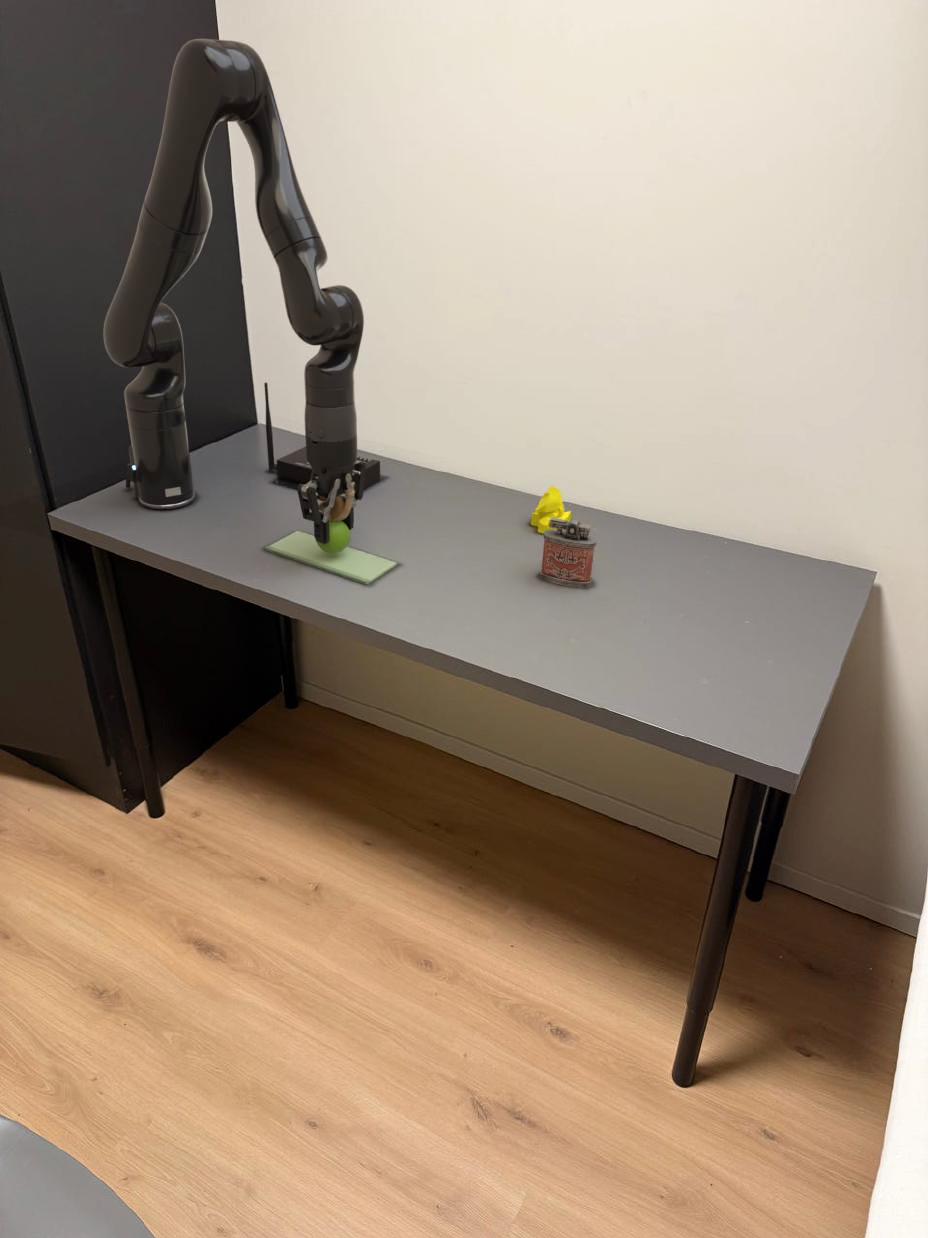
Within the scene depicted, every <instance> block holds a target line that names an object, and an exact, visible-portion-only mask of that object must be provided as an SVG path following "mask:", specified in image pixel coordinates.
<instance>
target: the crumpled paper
mask: <svg viewBox="0 0 928 1238" xmlns="http://www.w3.org/2000/svg"><path fill="white" fill-rule="evenodd" d="M551 518H558V519H563V520H566V521H569V522H570V521H572V520H571V519H572V511H571V510H570V511H566V508H565V505H564V503H563V496H562V491H561V490H560V489H558V488H557V487H555V486H554V485H551V486H550V487H549V488H548V489H547V490H546V491H545V493H544V494H543V495H542V497H541V498H540V500H539V503H538V505H537V507H536V508H535V509H534V512H532V513H531V519H530V525H531V526H533V527H537V533H539V534H543V535H544V532H545V531H546V530H550V529H552V530H557V529H556V528H551V527H549V523H550V519H551ZM562 531H565V530H562Z"/></svg>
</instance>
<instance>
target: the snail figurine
mask: <svg viewBox="0 0 928 1238" xmlns="http://www.w3.org/2000/svg"><path fill="white" fill-rule="evenodd" d="M354 485H355V483H354V482H352V483H351V484H350V487H353V489H354ZM345 495H346V500H345V504H344V501H343V499H342V497H341V496H340V495H338V496H337V497H336V498H335V503H334V506H333V507H332V508H331V509H330V513H329V518H328V521H329V537H330V541H329V542H328V543H327V544H323V543H320V542H317V541H316V543H317V545H318V546H319V547H320V548H321V549H322V550H323V551H325V552H328V553H338V552H341V551H342V550H344V549H345V548H346V547H348V545H349V543H350V541H351V530H349V529H348V527H347V525H346V524H345V523H344V522H342V521H341V520H343V519H345V518H346V517H347V516H348V515H349V513H350V510H351V507H352V502H353V497H354V491H353V490H352V489H348V490H347V491H346V492H345ZM320 499H321V500H325V501H327V499H328V498H325V497H322V496H320ZM319 511H320V513H322V511H323V506H321V505H320V509H319ZM315 540H316V539H315Z"/></svg>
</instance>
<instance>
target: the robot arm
mask: <svg viewBox="0 0 928 1238" xmlns="http://www.w3.org/2000/svg"><path fill="white" fill-rule="evenodd" d="M166 99H167V100H166V106H165V113H164V119H163V125H162V131H161V136H160V141H159V145H158V149H157V153H156V157H155V161H154V165H153V169H152V174H151V178H150V181H149V185H148V188H147V191H146V193H145V196H144V200H143V204H142V208H141V210H140V215H139V217H138V218H139V219H138V222H137V227H136V231H135V234H134V239H133V243H132V245H131V249H130V252H129V254H128V258H127V262H126V264H125V268H124V271H123V274H122V277H121V279H120V282H119V285H118V287H117V289H116V291H115V294H114V296H113V299H112V301H111V302H110V306H109V308H108V310H107V313H106V315H105V319H104V322H103V331H102V333H103V334H102V336H103V345H104V348H105V350H106V352H107V354H108V356H109V358H110V359H111V360H112V361H113V363H115V365H117V366H120V367H121V368H126V369H136V368H137V369H138V368H141V369H140V372H139V373H138V374H137V376H136V377H135V378H134V379H133V380H132V381H131V382H130V383H128V384H127V386H126V387H125V389H124V392H123V395H124V403H125V410H126V416H127V423H128V429H129V436H130V442H131V443H130V444H131V445H129V447H128V454H129V463H126V469H127V475H126V478H125V488H127V489H130V488H131V482H132V483H133V487H134V493H135V499H137V500H139V503H140V505H141V506H143V507H145V508H148V509H152V510H172V509H173V510H174V509H178V508H179V509H180V508H182V507H185V506H187V505H189V504H191V503H193V501H195V499H196V494H195V490H194V481H193V472H192V463H191V455H190V447H189V438H188V437H189V436H188V429H187V421H186V413H185V405H184V392H185V387H186V368H185V367H186V365H185V353H184V352H185V350H184V349H185V348H184V340H183V339H184V338H183V332H182V328H181V324H180V323H179V319H178V317H177V316H176V313H175V312H174V311H173V309H172V308H171V307H170V306H168V305H167V304H166V303H164V302H162V301H163V300H164V298H165V297H166V296H167V295H168V294H169V292H170V291H171V290H172V289H173V288H174V287H175V286H176V285H177V284H178V283H179V282H180V280H181V279H182V278H183V277H184V276H185V275H186V274H187V273H188V271H189V270H190V269H191V267H192V266H193V265H194V264H195V263H196V262H197V260H198V258H199V256H200V254H201V251H202V249H203V247H204V244H205V241H206V238H207V234H208V232H209V228H210V226H211V222H212V218H213V203H212V202H213V201H212V197H211V192H210V188H209V184H208V180H207V177H206V173H205V172H206V171H205V160H206V154H207V150H208V147H209V143H210V141H211V138H212V135H213V133H214V131H215V128H216V126H217V125H218V124H219V123H236V124H237V125H238V127H239V129H240V130H241V132H242V134H243V136H244V138H245V140H246V142H247V144H248V147H249V149H250V153H251V156H252V160H253V165H254V180H255V181H254V205H255V212H256V218H257V220H258V224H259V227H260V229H261V233H262V235H263V237H264V239H265V241H266V244H267V246H268V248H269V251H270V253H271V255H272V257H273V259H274V261H275V264H276V266H277V268H278V273H279V278H280V285H281V290H282V296H283V301H284V307H285V311H286V316H287V319H288V322H289V325H290V327H291V329H292V330H293V332H294V333H295V335H297V337H298V338H299V339H300V340H301V341H302V342H304V343H305V344H307V345H310V346H319V350H318V352H317V353H316V354H315V355H314V356H313V357H311V358H310V359H309V360H308V361H307V362H306V364H305V366H304V371H303V372H304V377H303V378H304V398H305V404H304V434H305V436H304V437H305V446H306V458H307V461H308V462H309V464H310V465H311V467H312V474H311V478H310V480H311V481H309V482H308V483H307V484H306V485H303V484H299V485H298V487H297V489H296V491H297V495H298V501H299V505H300V510H301V514H302V515H301V516H302V519H304V520H308V521H310V522H313V536H314V537H315V539H316V541H317V542H320V543H323V544H327V543H328V542H329V541H330V537H329V521H328V518H329V513H330V509H331V508H332V507H333V506H334V503H335V498H336V497H337V496H338V495H340V496H341V497H342V499H343V501H344V504H345V500H346V495H345V492H346V491H347V490H348V489H352V490H353V491H354V497H353V502H352V507H351V510H350V513H349V515H348V516H347V517H346V518H345V519H343V520H341V521H342V522H344V523H345V524H346V525H347V527H348V529H349V531H351V530H353V529H354V523H355V516H354V515H355V513H354V511H355V510H354V509H355V507H356V506H357V501H361V500H362V499H363V497H364V490H365V489H364V480H365V470H366V463H364V462H360V461H357V458H358V419H357V417H358V416H357V408H356V400H355V399H356V398H355V397H356V396H355V369H356V364H357V361H358V359H359V354H360V348H361V343H362V340H363V339H362V338H363V333H364V325H365V314H364V308H363V306H362V302H361V300H360V298H359V296H358V294H357V293H356V292H355V291H354V289H352V288H350V287H349V286H346V285H343V284H335V285H329V286H326V287H322V288H321V286H320V283H319V278H318V271H320V270H321V269H322V268H324V266H326V264H327V262H328V259H329V254H328V251H327V248H326V244H325V243H324V241H323V239H322V236H321V233H320V231H319V229H318V226H317V223H316V222H315V219H314V217H313V215H312V212H311V210H310V208H309V205H308V203H307V201H306V198H305V195H304V194H303V191H302V188H301V185H300V182H299V179H298V176H297V172H296V169H295V166H294V163H293V159H292V156H291V151H290V148H289V145H288V144H289V143H288V140H287V137H286V134H285V129H284V127H283V122H282V119H281V115H280V112H279V108H278V103H277V100H276V97H275V93H274V90H273V86H272V83H271V79H270V77H269V74H268V71H267V68H266V66H265V63H264V62H263V60H262V58H261V57H260V55H259V54H258V53H257V51H256V50H255V49H254V48H253V47H251V46H250V45H249V44H247V43H244V42H242V41H238V40H237V41H236V40H226V39H214V38H210V39H209V38H195V39H191V40H189V41H187V42H186V43H184V44H183V46H181V48H180V49H179V51H178V53H177V55H176V58H175V60H174V64H173V67H172V71H171V76H170V81H169V88H168V94H167V98H166ZM352 482H354V483H355V484H357V491H355V490H354V489H353V487H350V484H351V483H352ZM363 489H364V490H363ZM320 496H322V497H325V498H328V499H327V501H325V500H321V499H320ZM320 505H321V506H323V511H322V513H320V512H321V511H320V510H319V509H320Z"/></svg>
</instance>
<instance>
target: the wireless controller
mask: <svg viewBox="0 0 928 1238" xmlns="http://www.w3.org/2000/svg"><path fill="white" fill-rule="evenodd" d="M263 385H264V399H265V435H266V448H267V449H266V450H267V451H266V452H267V462H268V464H267V465H268V470H269V471H273V470H274V471H277V473H276V474H277V479H276V480H274V481H272V483H273V484H274V485H279V486H282V487H285V488H290V489H293V490H297V487H298V485H299V484H303V485H306V484H307V483H308V482H309V481H311V480H310V478H311V474H312V467H311V465H310V464H309V462H308V461H307V458H306V445H305V446H303V447H301V448H299V449H297V450H295V451H293V452H291V453H288V454H286V455H284V456H282V457H280V458H277V459H276V463H275V453H274V452H275V451H274V436H273V435H274V434H273V423H272V417H271V411H270V409H271V408H270V402H269V401H270V399H269V389H268V388H269V387H268V386H269V385H268V382H264V383H263ZM357 461H360V462H364V463H366V470H365V480H364V489H363V491H365V490H366V489H368V488H370V487H371V486H373V485H375V484H376V483H378V482H380V481H382V480H383V479H385V477H384V476H381V460H376V459H370V460H369V458H367V459H365V458H364V457H362V458H361V457H360V456H357ZM354 490H355V491H357V484H355V485H354Z"/></svg>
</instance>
